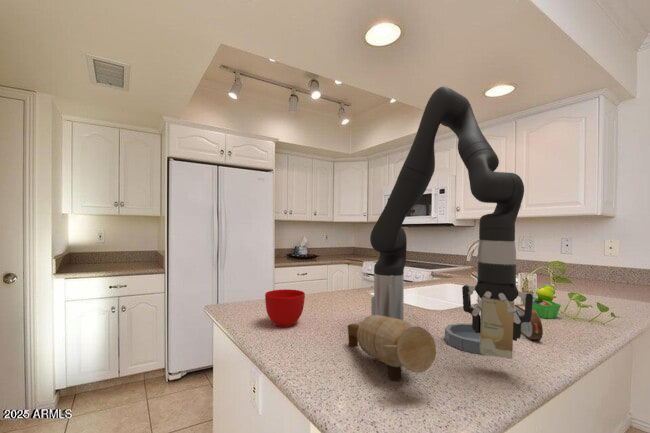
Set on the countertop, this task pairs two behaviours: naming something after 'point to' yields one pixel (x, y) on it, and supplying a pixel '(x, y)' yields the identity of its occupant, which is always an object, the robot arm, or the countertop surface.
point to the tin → (530, 324)
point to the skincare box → (496, 328)
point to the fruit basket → (545, 303)
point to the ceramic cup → (284, 306)
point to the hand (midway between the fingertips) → (495, 335)
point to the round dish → (463, 337)
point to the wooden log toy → (394, 344)
